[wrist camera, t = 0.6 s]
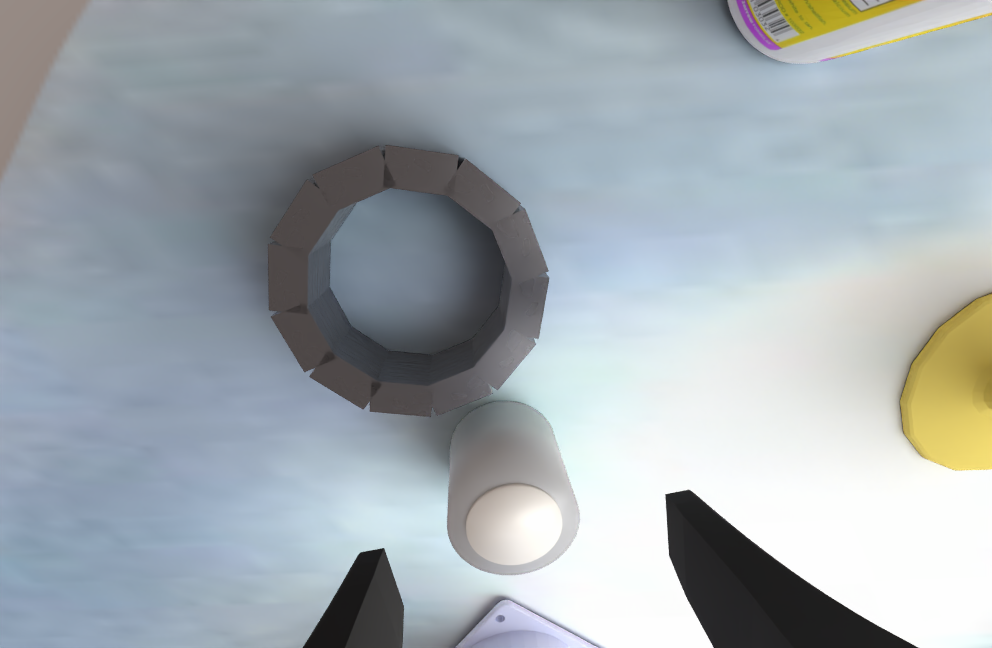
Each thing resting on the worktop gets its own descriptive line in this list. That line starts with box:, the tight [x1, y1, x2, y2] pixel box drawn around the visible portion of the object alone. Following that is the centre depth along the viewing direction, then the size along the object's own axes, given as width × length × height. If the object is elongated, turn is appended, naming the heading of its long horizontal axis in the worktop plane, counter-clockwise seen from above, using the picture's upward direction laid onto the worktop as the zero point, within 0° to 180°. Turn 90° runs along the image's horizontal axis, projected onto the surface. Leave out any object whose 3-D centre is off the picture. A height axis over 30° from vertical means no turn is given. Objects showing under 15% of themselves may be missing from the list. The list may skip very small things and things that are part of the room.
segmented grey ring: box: [268, 145, 549, 417], centre depth 18 cm, size 10×10×3 cm
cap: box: [447, 401, 580, 575], centre depth 20 cm, size 5×5×5 cm
